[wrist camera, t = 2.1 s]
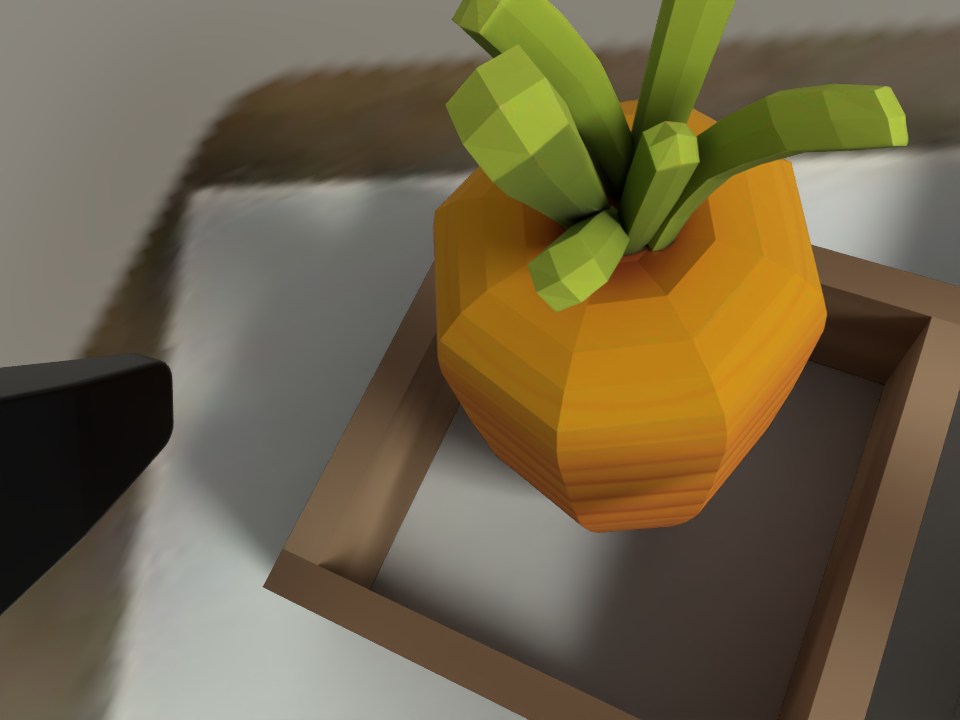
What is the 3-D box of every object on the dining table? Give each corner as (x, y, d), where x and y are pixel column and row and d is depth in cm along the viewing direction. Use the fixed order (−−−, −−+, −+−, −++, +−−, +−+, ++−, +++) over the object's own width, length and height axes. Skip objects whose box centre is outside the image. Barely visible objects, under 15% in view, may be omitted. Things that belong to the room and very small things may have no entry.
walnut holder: (786, 841, 17) (822, 865, 13) (322, 611, 20) (262, 586, 17) (930, 365, 20) (986, 294, 17) (510, 234, 23) (490, 153, 20)
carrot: (666, 352, 21) (722, -355, 7) (784, 535, 19) (1162, 12, 5) (483, 446, 21) (196, -104, 7) (581, 641, 19) (435, 380, 5)
